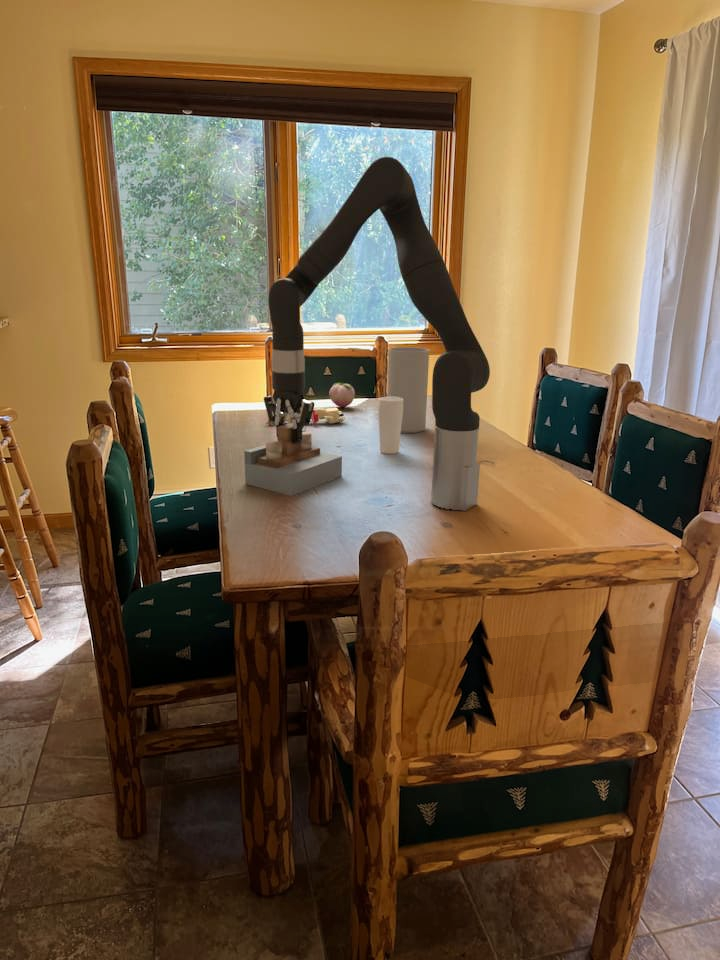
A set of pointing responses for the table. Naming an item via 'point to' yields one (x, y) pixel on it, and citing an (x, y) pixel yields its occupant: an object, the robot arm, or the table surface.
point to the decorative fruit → (342, 394)
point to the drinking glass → (390, 423)
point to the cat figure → (322, 415)
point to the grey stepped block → (291, 472)
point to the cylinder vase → (409, 384)
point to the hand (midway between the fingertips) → (289, 441)
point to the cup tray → (287, 448)
